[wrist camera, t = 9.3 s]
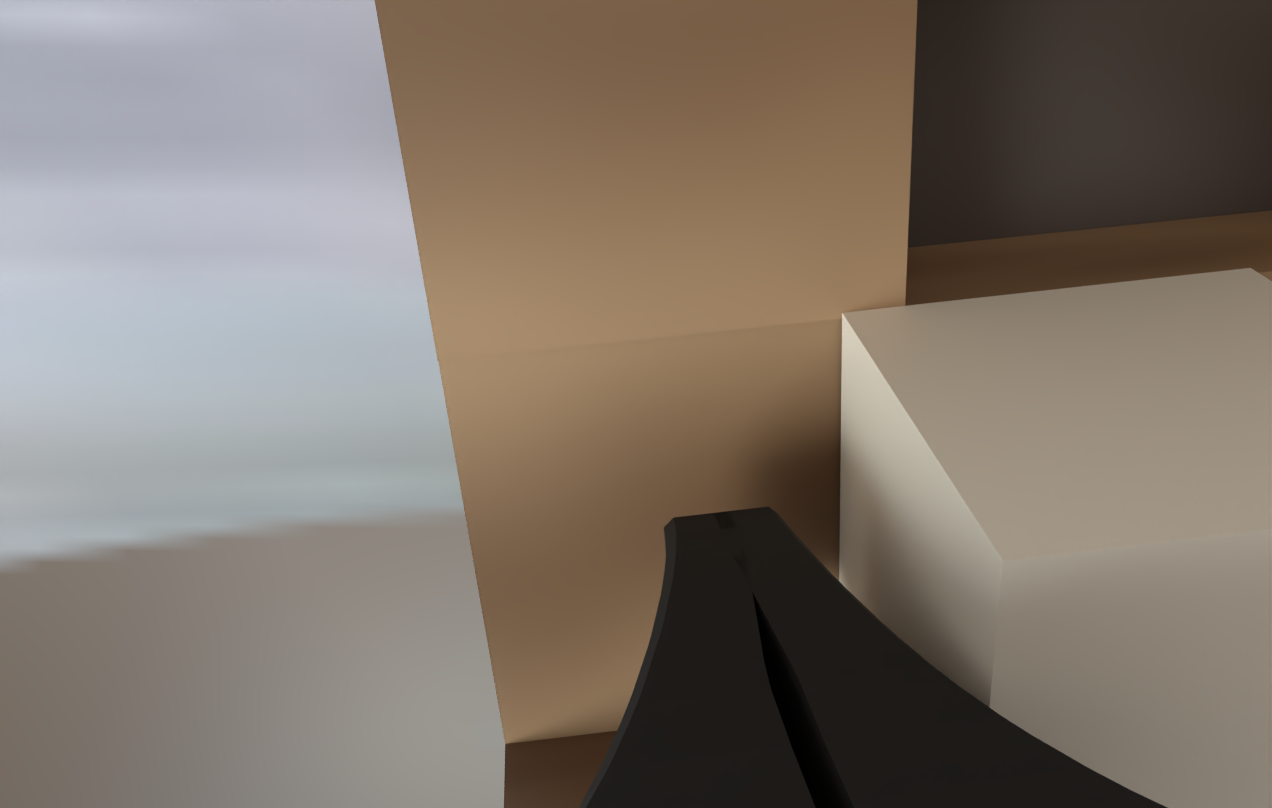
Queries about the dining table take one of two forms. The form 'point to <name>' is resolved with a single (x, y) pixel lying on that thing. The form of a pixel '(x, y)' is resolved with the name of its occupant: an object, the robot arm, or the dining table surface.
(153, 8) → the dining table surface
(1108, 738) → the cream block
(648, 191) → the trap board
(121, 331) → the dining table surface
